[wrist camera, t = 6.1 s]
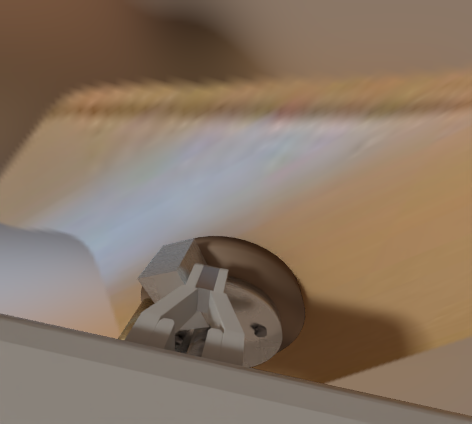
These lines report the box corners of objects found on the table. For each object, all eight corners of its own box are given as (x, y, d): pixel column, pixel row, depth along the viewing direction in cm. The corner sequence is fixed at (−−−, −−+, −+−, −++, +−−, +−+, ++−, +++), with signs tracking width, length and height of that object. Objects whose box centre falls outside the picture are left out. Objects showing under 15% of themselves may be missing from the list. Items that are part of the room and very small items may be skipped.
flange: (291, 349, 16) (300, 406, 13) (190, 357, 18) (176, 407, 15) (249, 225, 11) (247, 265, 8) (118, 256, 13) (74, 298, 10)
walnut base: (256, 359, 20) (257, 433, 15) (138, 316, 19) (97, 381, 14) (335, 278, 15) (376, 356, 10) (171, 207, 13) (120, 255, 8)
